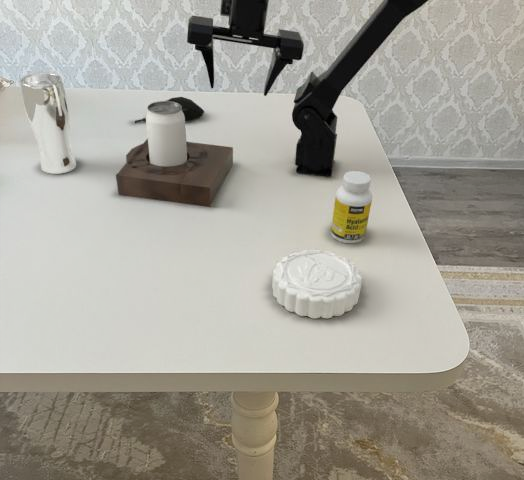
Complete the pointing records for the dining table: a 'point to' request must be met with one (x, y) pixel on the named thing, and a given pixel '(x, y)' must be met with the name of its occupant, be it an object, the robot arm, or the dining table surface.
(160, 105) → the can
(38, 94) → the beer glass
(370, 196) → the supplement bottle
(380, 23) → the robot arm
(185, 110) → the gaming mouse
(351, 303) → the mooncake
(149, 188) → the holder board
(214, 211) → the dining table surface
